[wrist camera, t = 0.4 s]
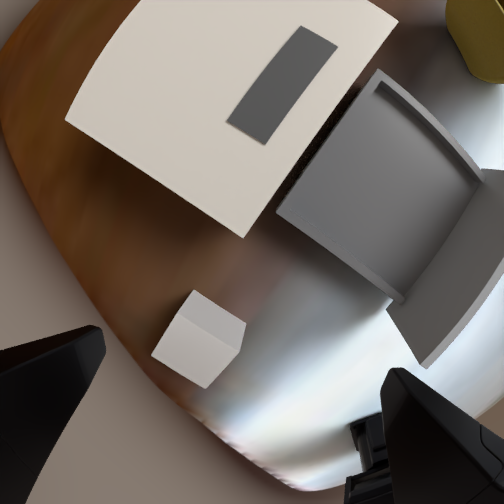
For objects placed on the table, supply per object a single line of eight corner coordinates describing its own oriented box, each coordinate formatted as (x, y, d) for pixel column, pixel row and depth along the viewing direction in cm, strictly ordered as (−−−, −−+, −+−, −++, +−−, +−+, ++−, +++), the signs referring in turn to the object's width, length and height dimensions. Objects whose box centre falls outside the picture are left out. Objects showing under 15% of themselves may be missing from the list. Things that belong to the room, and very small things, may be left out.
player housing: (124, 129, 18) (63, 119, 12) (224, -7, 14) (202, -59, 7) (257, 214, 19) (242, 238, 12) (364, 63, 15) (399, 20, 8)
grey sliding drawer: (265, 223, 18) (256, 254, 12) (377, 65, 14) (418, 24, 8) (391, 314, 19) (426, 369, 13) (486, 175, 15) (546, 184, 8)
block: (246, 322, 22) (239, 351, 18) (216, 359, 24) (205, 389, 20) (194, 288, 22) (177, 312, 18) (168, 329, 23) (150, 355, 19)
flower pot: (516, 91, 13) (576, 81, 4) (467, 99, 14) (538, 81, 6) (477, 14, 11) (524, -15, 2) (420, 11, 13) (466, -37, 4)
